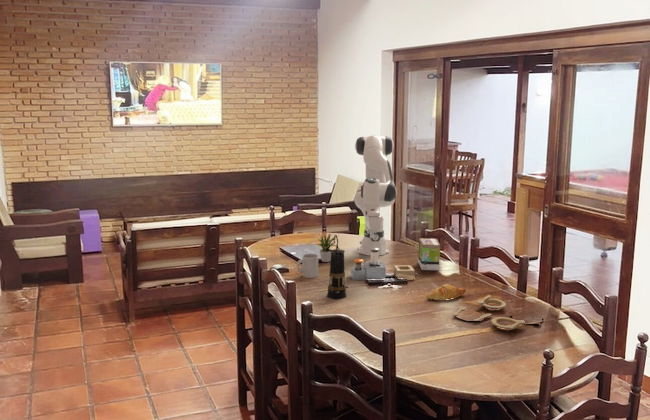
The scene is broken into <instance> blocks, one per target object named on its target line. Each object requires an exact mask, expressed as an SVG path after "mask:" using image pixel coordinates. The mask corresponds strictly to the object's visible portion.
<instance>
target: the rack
mask: <svg viewBox="0 0 650 420" xmlns="http://www.w3.org/2000/svg"><path fill="white" fill-rule="evenodd" d="M394 274H395V276H396V277H397V278H403V279H407V280H406V281H412V280H413V279H414V280H416V279H415V276H416V270H415V269H414V267H413V266H412V265H411V264H405V265H404V264H402V265H398V264H396V265H393V275H394ZM395 276H394V277H395ZM396 277H395V278H396ZM414 280H413V281H414Z"/></svg>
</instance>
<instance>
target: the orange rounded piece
mask: <svg viewBox="0 0 650 420" xmlns="http://www.w3.org/2000/svg"><path fill="white" fill-rule="evenodd" d="M353 263H355V267H356V269H355V270H361V267H362V263H363V264H364V259H363V258H354V259H353Z"/></svg>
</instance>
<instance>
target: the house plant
mask: <svg viewBox="0 0 650 420" xmlns="http://www.w3.org/2000/svg"><path fill="white" fill-rule="evenodd" d="M323 235H324V237H323V236H322V235H321V234H319V237H320V238H318V237H317V239H318V241H319V242H320V243H316V244H315V246H316V245H317V246H321V249H319V253H320V260H322V261H321V262H323V263H328V262H331V252H330V251H331V250H332V249H331V247H335V248H336V244H334V237H332V238H331V236H332V234H330V232H329V234H328V236H327V235H326V233H324V234H323Z"/></svg>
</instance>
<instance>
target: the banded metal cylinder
mask: <svg viewBox="0 0 650 420" xmlns="http://www.w3.org/2000/svg"><path fill="white" fill-rule="evenodd" d="M379 256H380V255H379V248H376V247H373V248H371V255H370V262H371V266H378V262H379Z"/></svg>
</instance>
